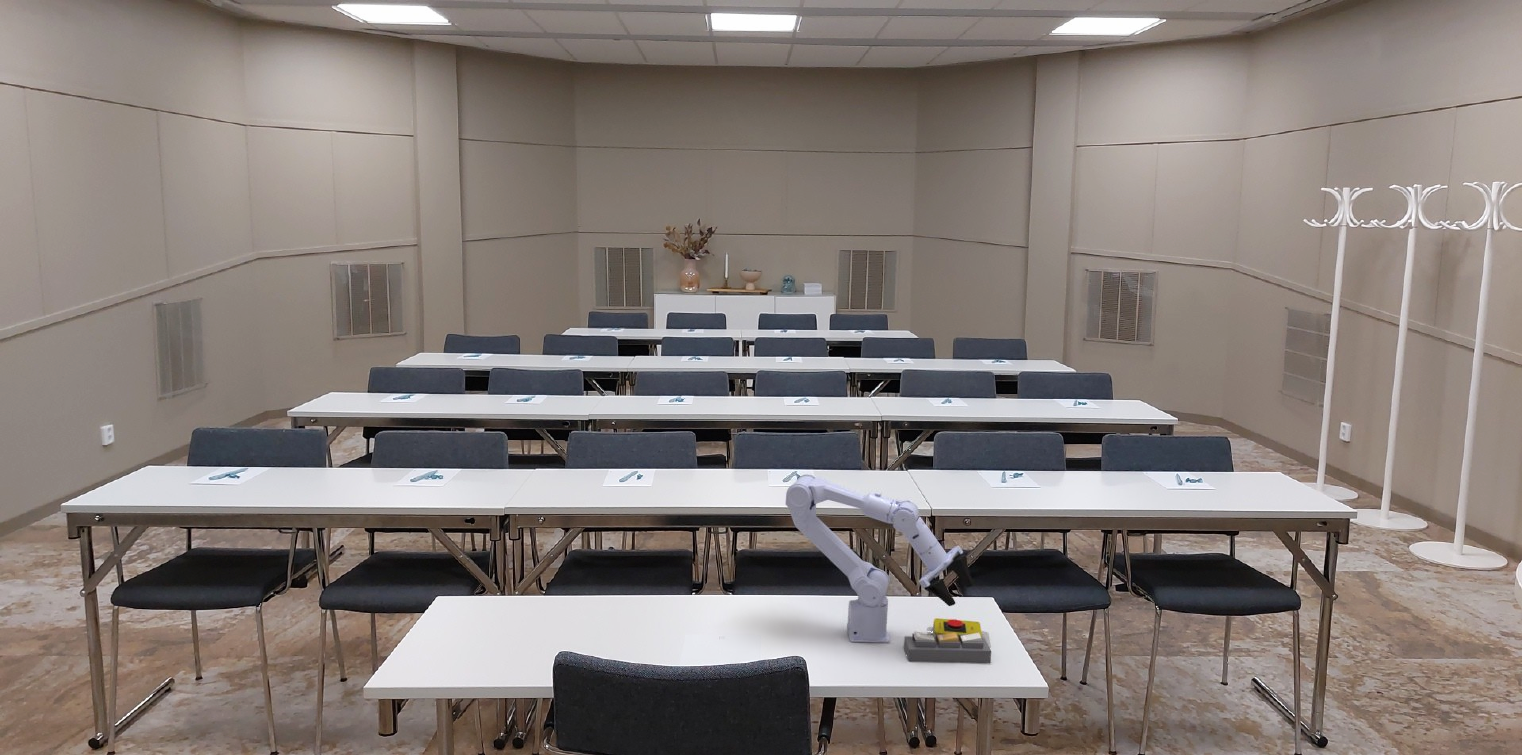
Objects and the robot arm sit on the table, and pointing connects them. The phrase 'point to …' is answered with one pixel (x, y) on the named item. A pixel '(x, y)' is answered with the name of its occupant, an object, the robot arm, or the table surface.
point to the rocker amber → (948, 637)
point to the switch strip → (946, 650)
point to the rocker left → (923, 637)
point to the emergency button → (957, 628)
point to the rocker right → (971, 638)
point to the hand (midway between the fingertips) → (961, 595)
